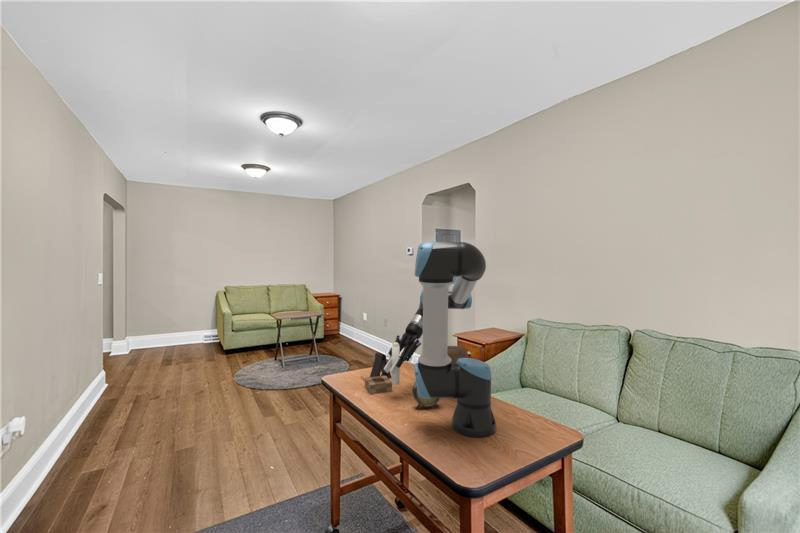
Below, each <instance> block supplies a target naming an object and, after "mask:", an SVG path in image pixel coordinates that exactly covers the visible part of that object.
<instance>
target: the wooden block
mask: <svg viewBox="0 0 800 533" xmlns="http://www.w3.org/2000/svg"><path fill="white" fill-rule="evenodd" d="M447 355H448V356H449V357H450V358H451V360H452V363H457V360H458V359H459V358H469V356H468V355H469V352H468V351H467V349H466V348H465V346H463V345H447Z"/></svg>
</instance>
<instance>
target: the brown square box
mask: <svg viewBox="0 0 800 533" xmlns="http://www.w3.org/2000/svg"><path fill="white" fill-rule="evenodd" d="M364 387H365V389H366V390H367V392H368V393H369V395H374V394H383V393H389V392H390V393H391V392H393V384H392V380H391V379H390V378H388V377H387V376H386V375H385V376H376V377H370V376H368V377H365V381H364Z"/></svg>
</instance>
